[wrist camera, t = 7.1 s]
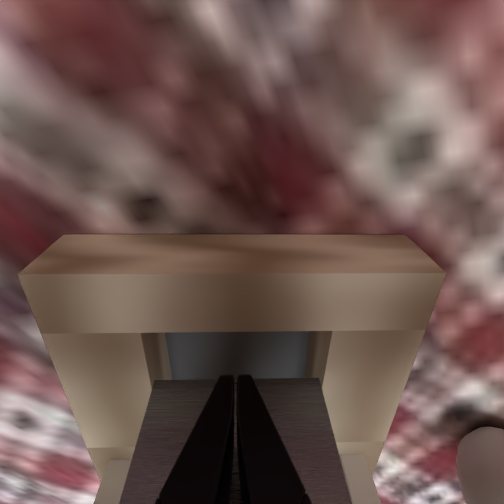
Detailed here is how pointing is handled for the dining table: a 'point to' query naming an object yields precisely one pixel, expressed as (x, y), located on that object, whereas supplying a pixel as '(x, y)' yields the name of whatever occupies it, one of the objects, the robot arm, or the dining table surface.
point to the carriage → (285, 419)
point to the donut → (482, 466)
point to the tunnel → (352, 464)
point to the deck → (231, 323)
